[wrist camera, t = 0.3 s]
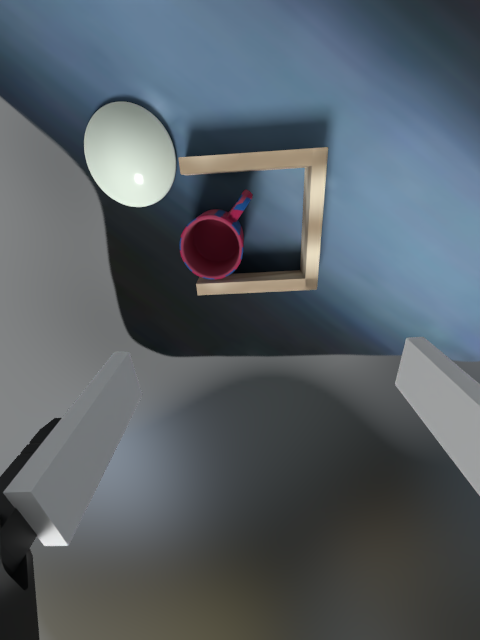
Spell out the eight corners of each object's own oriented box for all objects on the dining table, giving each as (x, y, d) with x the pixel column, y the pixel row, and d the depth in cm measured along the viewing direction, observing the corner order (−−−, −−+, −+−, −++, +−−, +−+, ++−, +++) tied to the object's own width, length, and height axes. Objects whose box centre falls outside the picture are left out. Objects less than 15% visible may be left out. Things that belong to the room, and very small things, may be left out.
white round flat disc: (74, 106, 28) (70, 105, 27) (167, 99, 28) (166, 97, 27) (102, 209, 32) (99, 209, 32) (182, 204, 32) (181, 204, 32)
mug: (180, 238, 34) (166, 250, 28) (233, 173, 31) (230, 171, 24) (219, 273, 36) (214, 291, 30) (273, 216, 33) (279, 223, 27)
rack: (185, 160, 30) (178, 157, 27) (319, 151, 29) (328, 147, 26) (201, 285, 37) (197, 295, 34) (310, 280, 36) (316, 289, 33)
